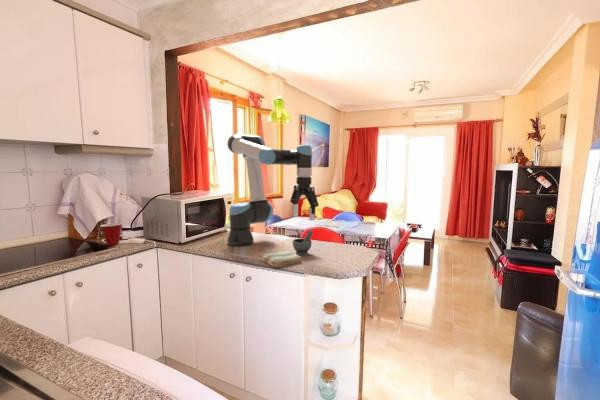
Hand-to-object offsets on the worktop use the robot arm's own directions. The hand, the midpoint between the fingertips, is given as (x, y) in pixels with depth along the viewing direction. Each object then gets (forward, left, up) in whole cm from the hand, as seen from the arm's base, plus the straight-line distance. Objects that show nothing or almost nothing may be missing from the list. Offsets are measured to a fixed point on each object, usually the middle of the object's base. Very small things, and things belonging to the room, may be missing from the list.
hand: (303, 218), depth 149 cm
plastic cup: (-78, -77, -19) cm, 111 cm away
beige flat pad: (+3, -16, -19) cm, 25 cm away
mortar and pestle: (0, 0, -19) cm, 19 cm away
